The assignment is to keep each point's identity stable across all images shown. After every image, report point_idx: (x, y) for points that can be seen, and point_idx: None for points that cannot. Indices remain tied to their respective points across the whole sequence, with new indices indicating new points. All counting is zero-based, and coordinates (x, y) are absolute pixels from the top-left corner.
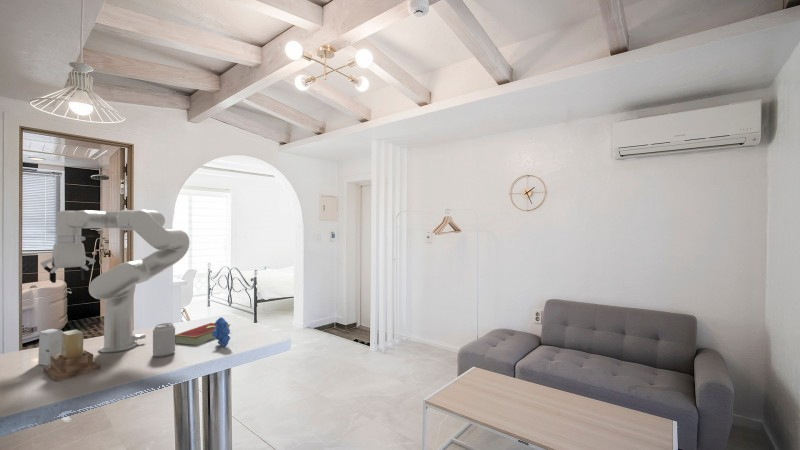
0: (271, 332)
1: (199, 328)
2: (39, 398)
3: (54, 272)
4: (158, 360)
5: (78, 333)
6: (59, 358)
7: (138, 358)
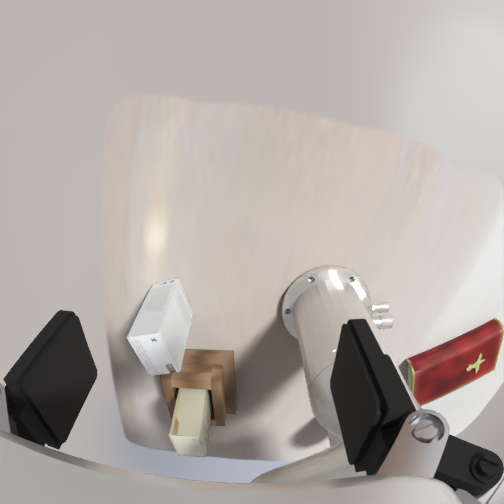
0: (484, 403)
1: (464, 358)
2: (151, 433)
3: (45, 438)
4: (316, 427)
5: (196, 456)
6: (173, 405)
7: (305, 401)
